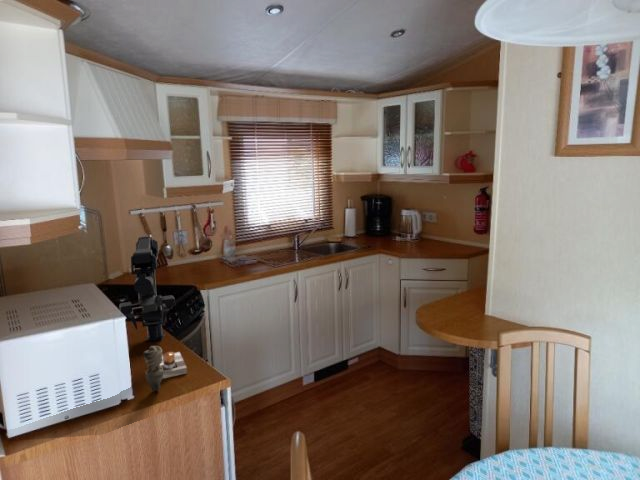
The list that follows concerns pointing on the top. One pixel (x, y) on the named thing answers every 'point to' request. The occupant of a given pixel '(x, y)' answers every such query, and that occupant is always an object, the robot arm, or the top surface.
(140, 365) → the top surface
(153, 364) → the grey stone figurine
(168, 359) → the brown round tapered piece
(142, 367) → the top surface
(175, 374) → the white block
